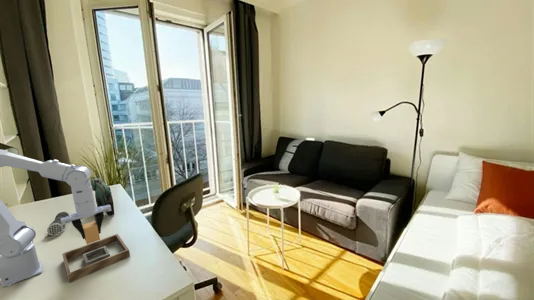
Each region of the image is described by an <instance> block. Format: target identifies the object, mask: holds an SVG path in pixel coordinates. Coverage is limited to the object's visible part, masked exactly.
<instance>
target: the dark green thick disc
mask: <svg viewBox="0 0 534 300" xmlns="http://www.w3.org/2000/svg"><path fill="white" fill-rule="evenodd" d="M90 182H91V186H92V190H93V192H94V195H95V196H94V199H95V205H96V207H101V206H106V205H110V206H111V210H112V211H109V212H108V211H107V212H105V214H106V216H107V217H111V216H114V215H115V206H114V199H113V195H112V193H113V192H112V190H111V187H110V186H108V185H107V184H106V183H105V182H104V181H103V178H102V177H100V176H99V174H96V177H95V176H92V175H91V178H90Z"/></svg>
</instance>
